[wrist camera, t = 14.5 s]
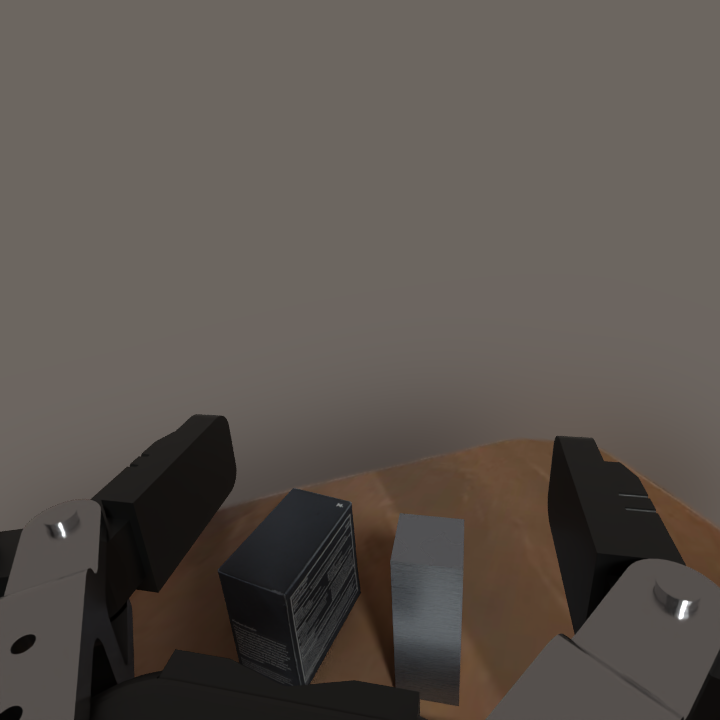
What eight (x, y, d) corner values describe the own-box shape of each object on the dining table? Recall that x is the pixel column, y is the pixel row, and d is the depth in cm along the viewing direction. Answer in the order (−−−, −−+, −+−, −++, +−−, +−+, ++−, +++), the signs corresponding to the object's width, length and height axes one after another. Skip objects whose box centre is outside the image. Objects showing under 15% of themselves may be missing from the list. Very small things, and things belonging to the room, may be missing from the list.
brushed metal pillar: (395, 694, 36) (390, 560, 31) (403, 639, 40) (399, 513, 35) (458, 706, 35) (463, 569, 30) (460, 647, 39) (464, 519, 34)
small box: (303, 571, 47) (292, 483, 43) (362, 592, 44) (356, 500, 41) (234, 666, 38) (212, 566, 35) (303, 699, 36) (288, 595, 32)
